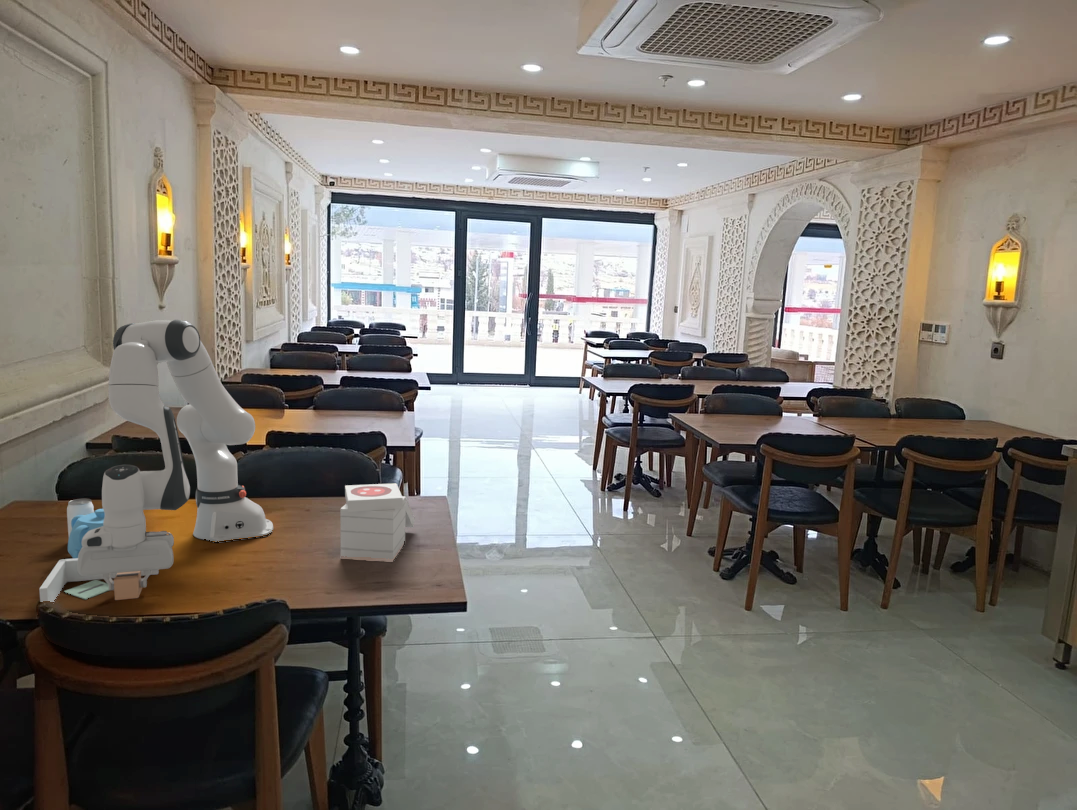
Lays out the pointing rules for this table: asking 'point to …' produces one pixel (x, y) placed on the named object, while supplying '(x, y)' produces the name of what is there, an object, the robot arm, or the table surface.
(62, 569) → the white l-shaped bracket
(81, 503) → the can
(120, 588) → the cube
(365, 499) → the pizza boxes
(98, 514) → the decorative pot
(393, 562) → the table surface
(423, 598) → the table surface
